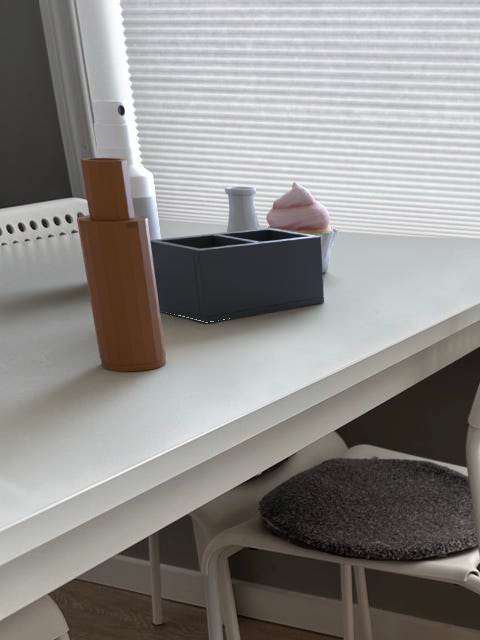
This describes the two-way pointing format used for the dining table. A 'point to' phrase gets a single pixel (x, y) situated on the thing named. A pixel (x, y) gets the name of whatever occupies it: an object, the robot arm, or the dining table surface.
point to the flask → (241, 209)
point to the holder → (237, 273)
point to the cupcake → (303, 218)
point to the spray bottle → (126, 157)
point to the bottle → (119, 270)
